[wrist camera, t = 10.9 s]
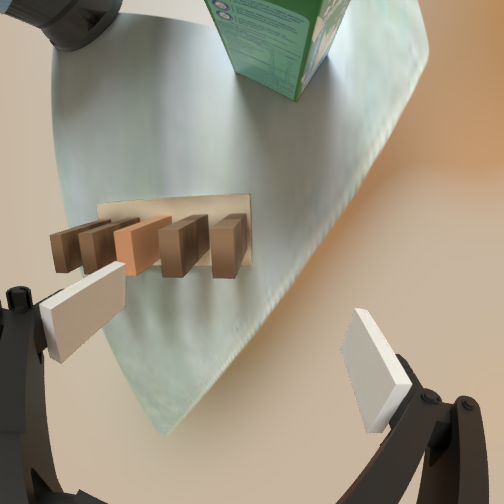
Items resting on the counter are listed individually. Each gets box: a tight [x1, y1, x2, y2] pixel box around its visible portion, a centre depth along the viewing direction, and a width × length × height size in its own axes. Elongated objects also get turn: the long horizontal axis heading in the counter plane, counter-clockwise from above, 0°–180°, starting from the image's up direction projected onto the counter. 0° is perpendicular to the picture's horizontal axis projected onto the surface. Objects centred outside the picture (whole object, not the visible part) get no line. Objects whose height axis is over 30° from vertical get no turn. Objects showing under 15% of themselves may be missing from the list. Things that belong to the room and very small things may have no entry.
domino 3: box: [158, 214, 210, 278], centre depth 30 cm, size 4×2×11 cm, turn 2°
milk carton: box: [204, 0, 350, 102], centre depth 17 cm, size 9×9×25 cm
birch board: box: [97, 194, 252, 266], centre depth 36 cm, size 9×22×1 cm, turn 92°
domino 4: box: [210, 213, 247, 279], centre depth 29 cm, size 4×2×11 cm, turn 2°
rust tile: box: [114, 215, 172, 276], centre depth 30 cm, size 4×2×11 cm, turn 2°
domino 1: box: [50, 219, 111, 273], centre depth 31 cm, size 4×2×11 cm, turn 2°
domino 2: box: [78, 217, 140, 275], centre depth 30 cm, size 4×2×11 cm, turn 2°
